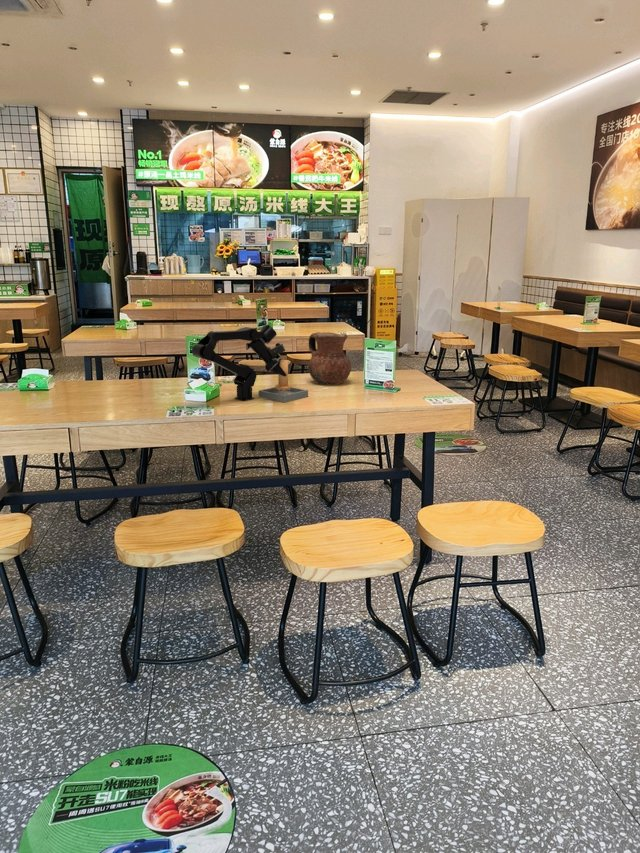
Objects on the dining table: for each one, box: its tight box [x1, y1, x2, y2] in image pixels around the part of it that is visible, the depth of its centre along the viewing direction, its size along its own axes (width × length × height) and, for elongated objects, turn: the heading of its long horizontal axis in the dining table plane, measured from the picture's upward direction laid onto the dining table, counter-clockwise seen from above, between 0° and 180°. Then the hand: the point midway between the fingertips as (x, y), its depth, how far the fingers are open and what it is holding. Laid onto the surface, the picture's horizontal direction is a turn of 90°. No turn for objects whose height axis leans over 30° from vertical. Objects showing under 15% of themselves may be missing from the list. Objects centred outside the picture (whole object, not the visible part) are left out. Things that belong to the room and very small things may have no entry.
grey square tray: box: [258, 386, 309, 403], centre depth 286 cm, size 16×16×3 cm
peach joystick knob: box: [274, 359, 292, 391], centre depth 283 cm, size 7×7×13 cm
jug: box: [307, 331, 353, 385], centre depth 316 cm, size 22×21×25 cm
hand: (286, 374), depth 283 cm, fingers closed on peach joystick knob, 4 cm apart
